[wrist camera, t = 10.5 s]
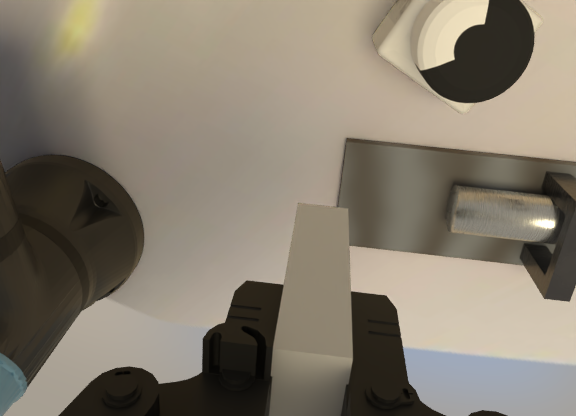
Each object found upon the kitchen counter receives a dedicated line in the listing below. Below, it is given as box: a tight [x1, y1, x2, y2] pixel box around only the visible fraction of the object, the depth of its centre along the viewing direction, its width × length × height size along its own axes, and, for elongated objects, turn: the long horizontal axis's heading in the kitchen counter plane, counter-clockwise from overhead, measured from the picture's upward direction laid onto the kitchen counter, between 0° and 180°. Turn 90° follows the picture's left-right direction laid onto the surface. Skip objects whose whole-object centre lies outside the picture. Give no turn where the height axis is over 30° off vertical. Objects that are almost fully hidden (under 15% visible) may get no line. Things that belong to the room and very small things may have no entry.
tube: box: [446, 185, 566, 244], centre depth 44 cm, size 20×4×4 cm, turn 85°
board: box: [338, 138, 576, 265], centre depth 47 cm, size 31×10×1 cm, turn 85°
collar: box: [520, 171, 576, 302], centre depth 44 cm, size 2×8×6 cm, turn 176°
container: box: [372, 0, 543, 114], centre depth 36 cm, size 8×8×13 cm
